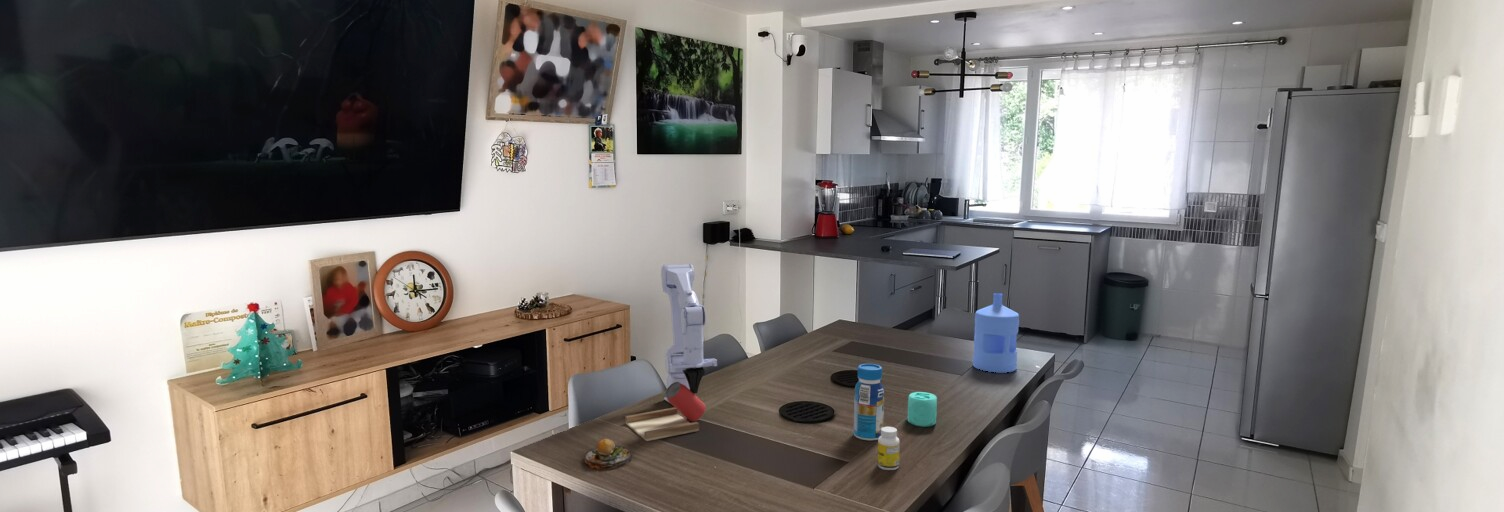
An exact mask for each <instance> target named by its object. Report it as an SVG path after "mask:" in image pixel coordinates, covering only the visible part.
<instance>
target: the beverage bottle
mask: <svg viewBox="0 0 1504 512" xmlns="http://www.w3.org/2000/svg"><path fill="white" fill-rule="evenodd" d="M857 378H858V381H857V382H856V383H855V387H854V392H855V394H854V396H853V403H854V405H853V406H854V407H853V408H854V409H853V436H854V437H856V438H857V439H859V440H862V441H868V442H869V441H878V438H879V437H880V436H882V435H881V428H883V427H884V411H885V397H884V393H885V389H884V385H883V384H882V382H881V380H882V379H883V367H882V366H881V365H879V364H875V363H863V364H862V363H861V364H859V365H858V366H857Z"/></svg>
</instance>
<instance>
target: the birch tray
mask: <svg viewBox="0 0 1504 512" xmlns="http://www.w3.org/2000/svg"><path fill="white" fill-rule="evenodd" d="M624 418H625V425H627V426H628V427H629V428H630V429H631V430H632V431H634V432H635V433H636V434H637V435H638V436H640V437H641V439H643V440H644V441H646V442H649V441H655V440H660V439H664V438H669V437H674V436H680V435H685V434H690V433H694V432H696V433H697V432H699V431H700V423H699V422H697V421H693V422H691V421H689V420H688V419H687V418H686V419H685V418H684V417H683V416H681V415H680V414H678V410H677V409H676V408H675V407H674V406H673V407H670V408H664V409H658V410H654V411H653V410H652V411H646V412H642V413H641V412H640V413H635V414H629V415H625V416H624Z"/></svg>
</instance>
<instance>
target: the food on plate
mask: <svg viewBox="0 0 1504 512" xmlns="http://www.w3.org/2000/svg"><path fill="white" fill-rule="evenodd" d="M632 458H633V457H632V451H631V450H630V449H628V448H626V447H623V446H621V445H619V446H618V445H615V442H614V441H613V440H611V439H609V438H604V437H603V439H601V440H600V441H599V442H598V443H597V446H596V447H595V448H592V449H590V450H589V451H587V452H586V453H585V454H584V464H586V465H588V467H589V468H592V469H594V468H596V470H612V469H617V468H621V467H624V466H626V465H628V464H630V462H631V461H632Z"/></svg>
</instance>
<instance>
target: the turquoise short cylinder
mask: <svg viewBox="0 0 1504 512" xmlns="http://www.w3.org/2000/svg"><path fill="white" fill-rule="evenodd" d="M937 405H938V397H937V396H936V395H935V394H933V393H930V392H924V391H915V392H910V394H909V395H908V400H907V422H908V423H909V424H911V425H913V426H916V427H921V428H922V427H925V428H926V427H928V428H929V427H932V426H935V424H936V423H937V409H938V407H937Z"/></svg>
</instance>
